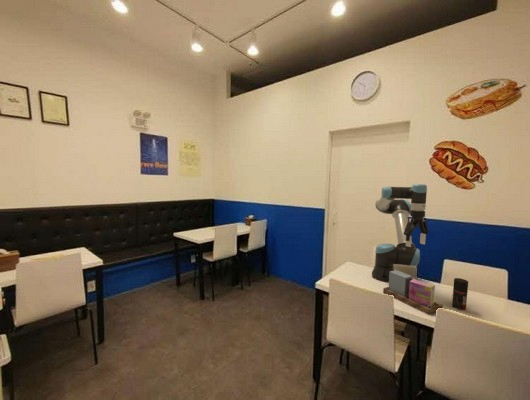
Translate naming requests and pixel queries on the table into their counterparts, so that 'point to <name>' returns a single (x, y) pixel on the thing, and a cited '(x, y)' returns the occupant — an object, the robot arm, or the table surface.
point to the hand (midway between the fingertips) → (415, 245)
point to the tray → (416, 305)
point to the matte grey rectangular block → (399, 282)
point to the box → (422, 293)
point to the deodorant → (460, 294)
